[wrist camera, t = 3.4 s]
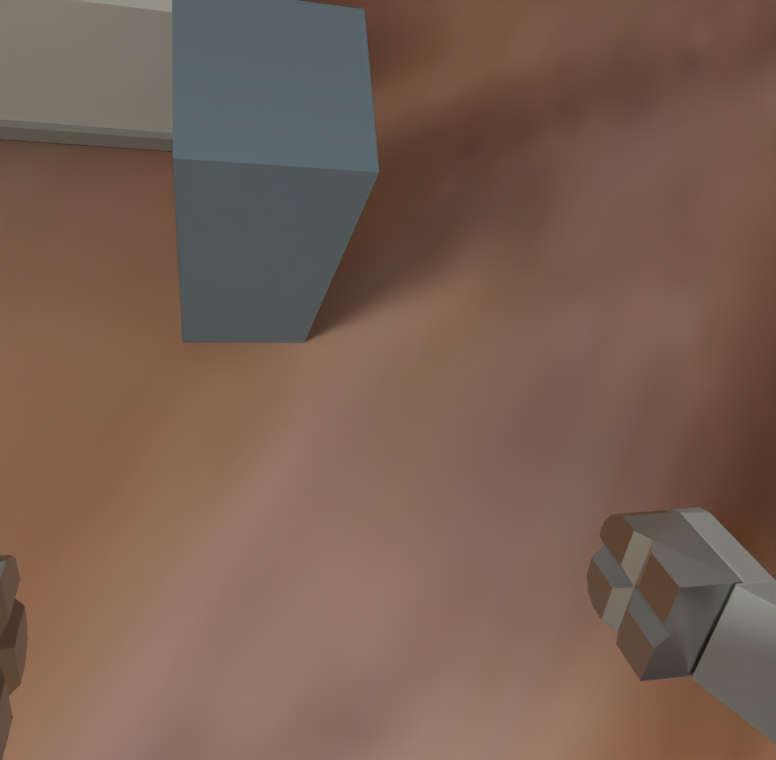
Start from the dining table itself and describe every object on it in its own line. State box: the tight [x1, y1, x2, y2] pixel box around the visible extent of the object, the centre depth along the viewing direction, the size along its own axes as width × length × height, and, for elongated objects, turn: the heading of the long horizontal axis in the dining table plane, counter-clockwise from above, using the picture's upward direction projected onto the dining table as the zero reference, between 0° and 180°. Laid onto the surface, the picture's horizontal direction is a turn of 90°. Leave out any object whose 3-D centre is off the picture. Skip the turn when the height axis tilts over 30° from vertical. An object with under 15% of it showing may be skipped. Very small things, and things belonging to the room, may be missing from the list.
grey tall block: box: [172, 0, 379, 342], centre depth 22 cm, size 4×4×12 cm
